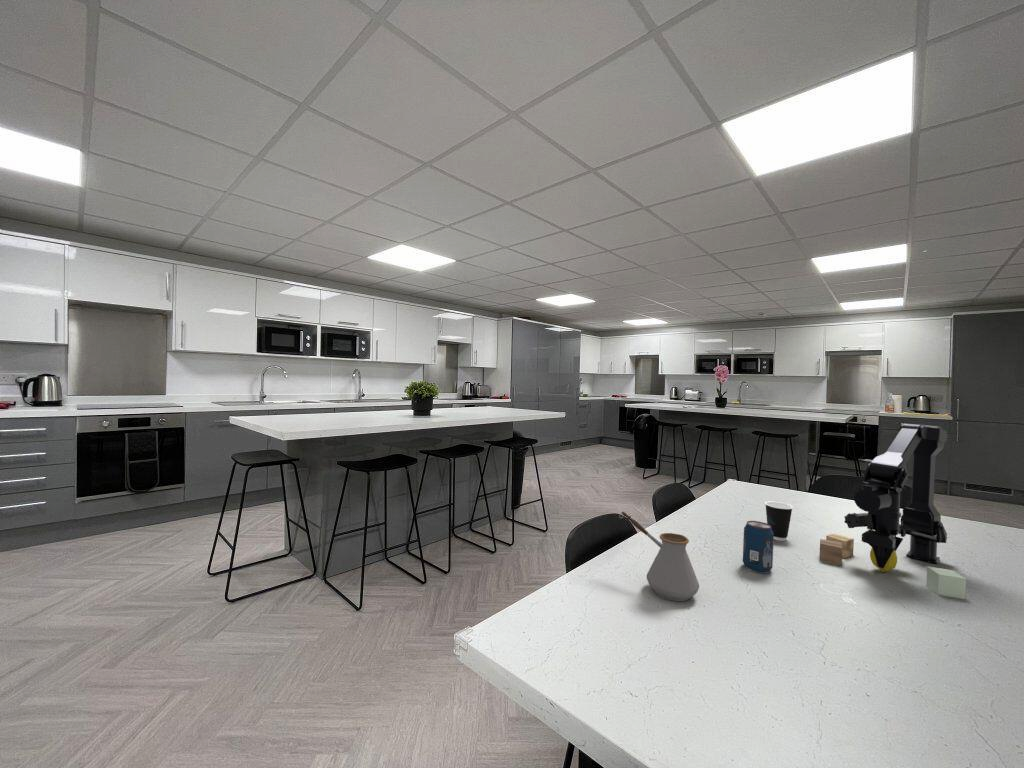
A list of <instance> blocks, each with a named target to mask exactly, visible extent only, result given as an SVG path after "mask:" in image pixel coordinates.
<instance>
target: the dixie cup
mask: <svg viewBox="0 0 1024 768" xmlns="http://www.w3.org/2000/svg"><path fill="white" fill-rule="evenodd" d="M764 505H765V514H766V516H765V517H766V523H767V524H769V525H770V526H771V529H772V531H773V533H774V538H773V541H774V540H776V541H780V542H785V541H787V538H788V536H789V531H790V530H789V529H790V524H791V523H790V522H791V517H792V512H793V508H794V506H792V504H788V503H785V502H779V501H772V500H771V501H765V502H764Z"/></svg>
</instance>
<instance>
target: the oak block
mask: <svg viewBox="0 0 1024 768" xmlns="http://www.w3.org/2000/svg"><path fill="white" fill-rule="evenodd" d="M825 538H826V539H825V540H829V541H834V542H839V543H842V558H845V559H846V558H848V557H849V558H850V557H852V556H854V546H855V545H854V544H855V543H854V541H855V538H852V537H849V536H845V535H842V534H838V533H830V534H827V535H825Z"/></svg>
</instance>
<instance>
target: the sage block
mask: <svg viewBox="0 0 1024 768" xmlns="http://www.w3.org/2000/svg"><path fill="white" fill-rule="evenodd" d="M966 582H967V578H966V577H964V576H963V575H962V574H960V573H958V572H957V571H955V570H953V569H947V568H941V567H933V566H926V583H925V585H926V587H928V589H930V590H931V591H933V592H934V593H935V594H937V595H939V596H944V597H950V598H951V597H952V598H956V599H962V600H966V589H967V588H966V585H967V583H966Z"/></svg>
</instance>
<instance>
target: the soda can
mask: <svg viewBox="0 0 1024 768" xmlns="http://www.w3.org/2000/svg"><path fill="white" fill-rule="evenodd" d="M773 538H774V533H773V531H772V529H771V526H770V525H769V524H767V522H763V521H757V520H747V521H746V524H745V526H744V527H743V541H742V542H743V544H742V545H743V547H742V548H743V549H742V562H743V565H744V567H745V568H746V569H747V570H750V571H752V572H755V573H758V574H768V573H770V572H771V570H772V569H773V565H774V563H773V562H774V539H773Z"/></svg>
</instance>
